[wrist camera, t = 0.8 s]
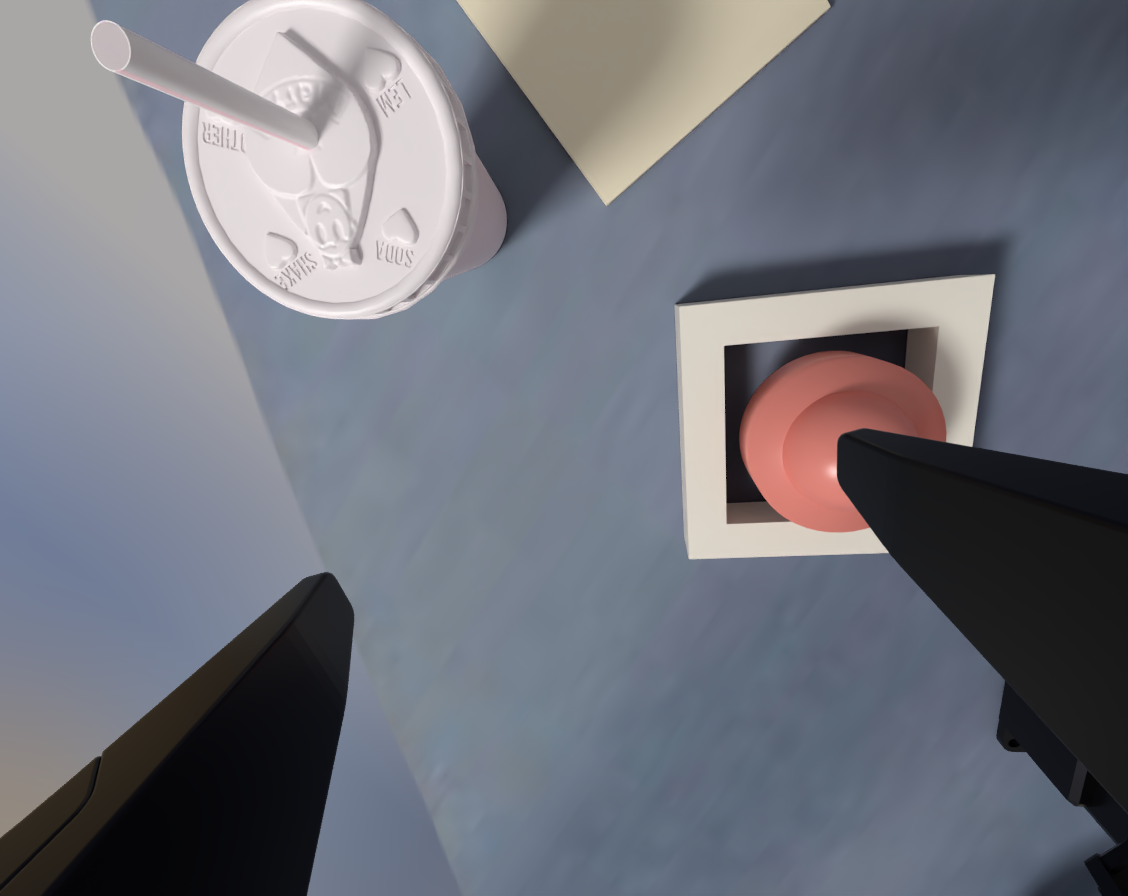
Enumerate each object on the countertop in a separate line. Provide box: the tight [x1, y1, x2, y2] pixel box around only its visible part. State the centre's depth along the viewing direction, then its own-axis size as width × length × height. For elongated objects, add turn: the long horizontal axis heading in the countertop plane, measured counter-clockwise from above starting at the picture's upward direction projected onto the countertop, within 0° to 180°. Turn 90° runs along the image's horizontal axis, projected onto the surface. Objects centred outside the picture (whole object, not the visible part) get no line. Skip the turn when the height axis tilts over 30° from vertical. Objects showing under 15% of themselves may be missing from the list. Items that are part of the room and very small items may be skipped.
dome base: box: [675, 274, 995, 559], centre depth 20 cm, size 10×10×2 cm
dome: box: [739, 351, 947, 533], centre depth 17 cm, size 6×6×4 cm
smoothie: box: [91, 0, 507, 319], centre depth 13 cm, size 6×6×14 cm
